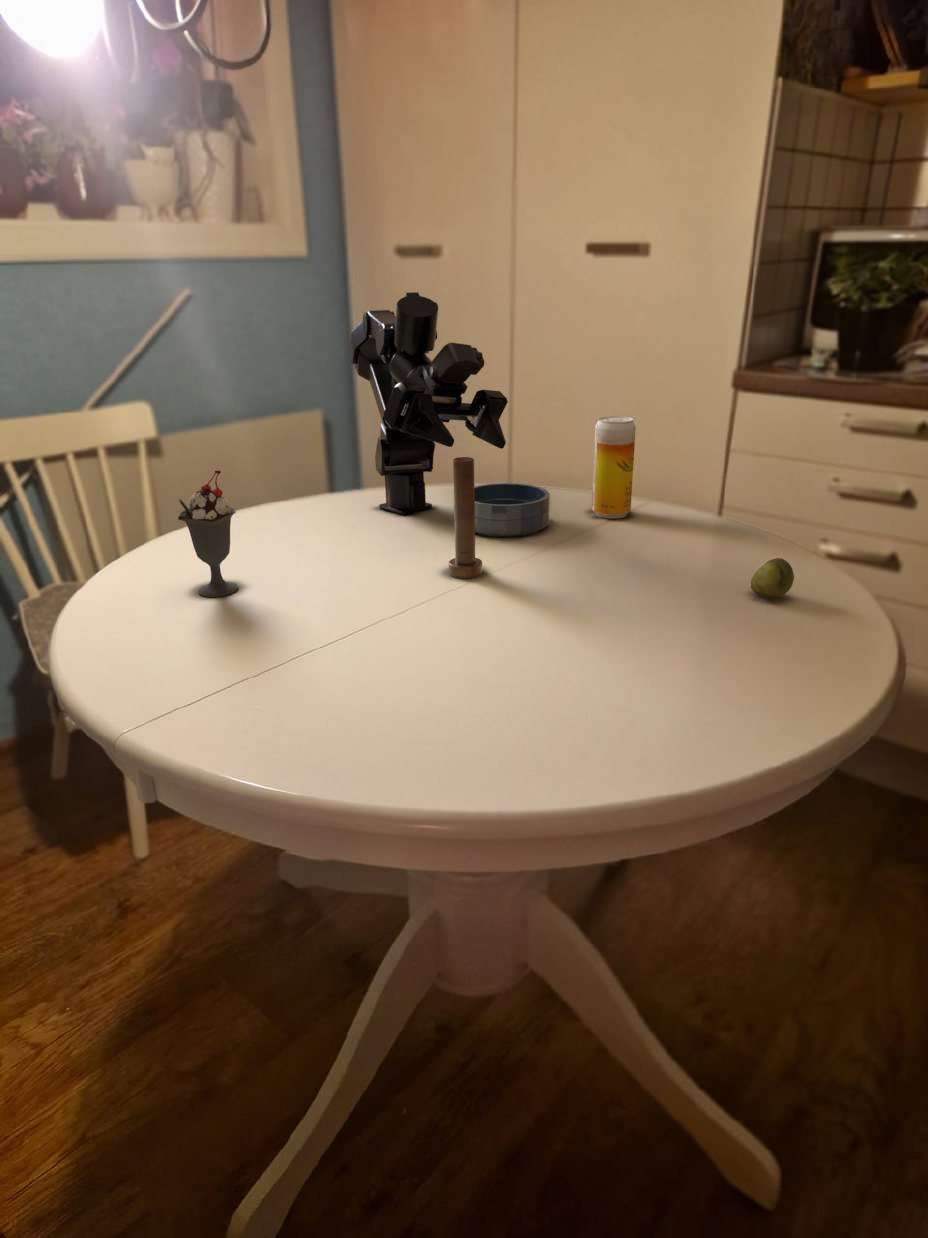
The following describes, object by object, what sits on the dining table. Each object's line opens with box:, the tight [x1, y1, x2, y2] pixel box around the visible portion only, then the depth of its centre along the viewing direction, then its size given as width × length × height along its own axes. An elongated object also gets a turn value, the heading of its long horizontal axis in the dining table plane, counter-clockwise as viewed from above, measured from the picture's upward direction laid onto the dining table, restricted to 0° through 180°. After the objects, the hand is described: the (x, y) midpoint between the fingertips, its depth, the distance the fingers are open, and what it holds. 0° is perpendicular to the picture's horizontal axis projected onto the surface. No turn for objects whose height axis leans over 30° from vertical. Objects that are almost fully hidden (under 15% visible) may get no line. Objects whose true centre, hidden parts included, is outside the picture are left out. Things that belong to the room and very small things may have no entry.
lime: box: [750, 557, 795, 599], centre depth 102 cm, size 4×5×5 cm
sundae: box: [177, 470, 239, 598], centre depth 106 cm, size 7×7×15 cm
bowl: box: [474, 482, 551, 538], centre depth 132 cm, size 13×13×5 cm
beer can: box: [591, 415, 637, 519], centre depth 135 cm, size 6×6×15 cm
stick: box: [448, 456, 483, 579], centre depth 111 cm, size 4×4×15 cm
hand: (478, 444), depth 116 cm, fingers open, 9 cm apart
